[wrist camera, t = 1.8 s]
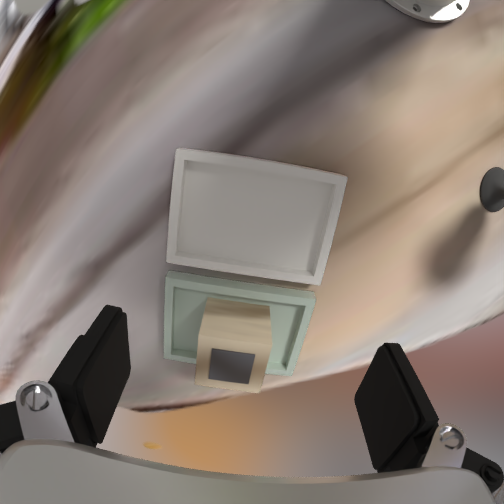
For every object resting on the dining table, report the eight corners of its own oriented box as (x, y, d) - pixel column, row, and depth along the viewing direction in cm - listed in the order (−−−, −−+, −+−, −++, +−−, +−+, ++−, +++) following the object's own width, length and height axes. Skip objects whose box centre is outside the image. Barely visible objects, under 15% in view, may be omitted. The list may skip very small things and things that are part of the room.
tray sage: (169, 270, 30) (165, 277, 29) (313, 291, 31) (316, 299, 29) (166, 349, 34) (163, 358, 32) (290, 367, 34) (291, 376, 33)
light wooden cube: (207, 297, 31) (198, 335, 25) (269, 306, 31) (272, 346, 25) (202, 345, 33) (194, 386, 27) (258, 353, 33) (259, 395, 28)
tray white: (180, 147, 26) (176, 149, 24) (343, 174, 26) (347, 177, 25) (169, 255, 29) (166, 262, 28) (317, 278, 30) (320, 285, 29)
